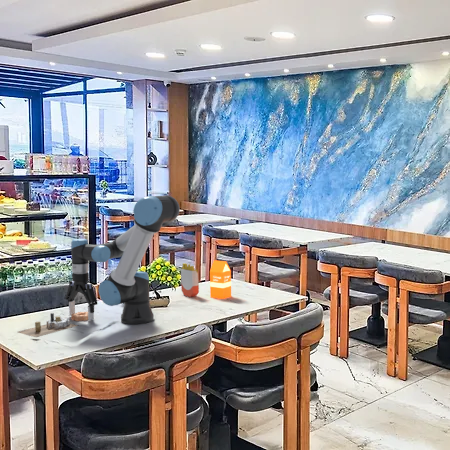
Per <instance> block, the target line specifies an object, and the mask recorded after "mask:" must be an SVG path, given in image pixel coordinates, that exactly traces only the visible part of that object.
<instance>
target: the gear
mask: <svg viewBox="0 0 450 450" xmlns="http://www.w3.org/2000/svg"><path fill="white" fill-rule="evenodd" d="M70 323H71V321H70V319H69V318H68V317H65V318H64V317H63V318H62V317H61V321H58V322H56V318H55V314H54V312H50V320H46V324H47V327H48V328H49V329H51V328H55V329H59V328H66V327H67V326H70Z"/></svg>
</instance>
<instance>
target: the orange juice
mask: <svg viewBox="0 0 450 450" xmlns="http://www.w3.org/2000/svg"><path fill="white" fill-rule="evenodd" d="M209 283H210V284H209V287H210V291H209V293H210V298H213V299H219V300H220V299H221V300H225V299H228V298H232V270H231V268H230V266H229V264H228V261H227V260H226V261H225V260H215V259H214V260H213V262H212V264H211V266H210V270H209Z"/></svg>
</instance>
